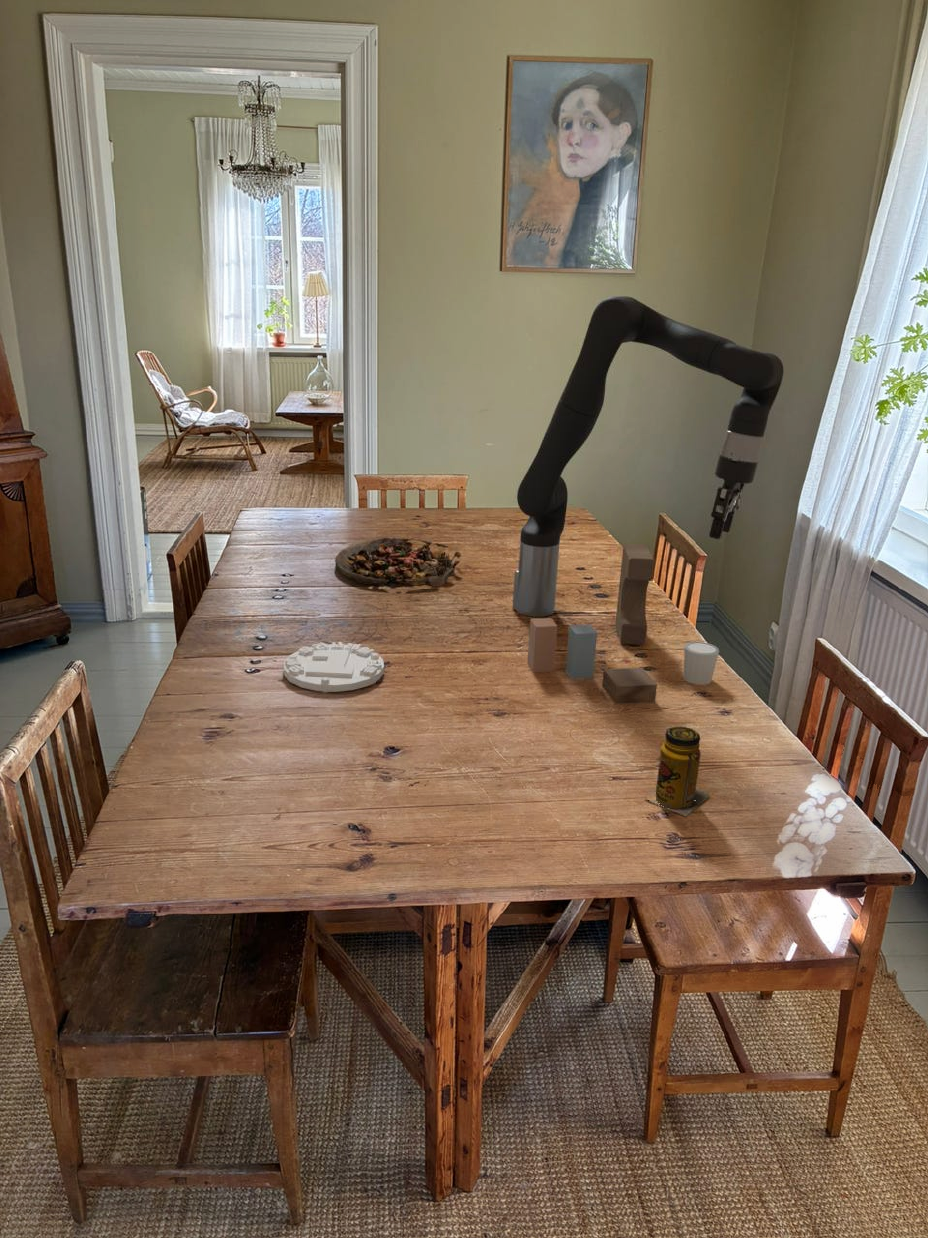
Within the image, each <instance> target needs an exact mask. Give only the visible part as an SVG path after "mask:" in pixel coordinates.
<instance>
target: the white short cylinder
mask: <svg viewBox="0 0 928 1238" xmlns="http://www.w3.org/2000/svg"><path fill="white" fill-rule="evenodd" d="M683 651H684V654H683V655H684V656H683V677H682V678H683V680H684V681H686V682H687V683H690V684H692V685H698V686H703V685H704V686H706V685H709V684H710V683H712V680H713V677H714V672H715V668H716V665H717V661H718V656H719V654H720V650H719V648H718V647H717V646H716V645H714V644H712V643H708V642H704V641H691V642H687V643H685V644H684V648H683Z"/></svg>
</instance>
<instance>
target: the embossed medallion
mask: <svg viewBox="0 0 928 1238" xmlns="http://www.w3.org/2000/svg"><path fill="white" fill-rule="evenodd" d="M283 672H284V673H283V675H284V676H285V678H286V679H287V681H289V682H290V683H291V684H294V685H295V686H298V687H299V688H303V689H306V690H310V691H311V690H312V691H316V692H323V693H325V694H327V693H330V692H332V693H333V692H335V693H337V692H346V691H354V690H358V689H361V688H366V687H369V686H371V685H374V684H376V683H377V682H378V681H379V680H380V679H381V678H382V676H383V675H384V673H385V664H384V659H383V658H382V657H381V655H380V653H378V652H375V649H373V648H371V649H370V647H367V646H363V647H362V644H360V643H350V642H347V644H344V643H343V642H342V641H338V643H337V644H336V642H331V644H328V643H324V642H319V643H314V644H311V646H310V647H309V646H302V647H300V648H299V649H298V650H297V651H296V652H293V653H292V654H289V655H288V657H287V658H286V659H285V660H284V664H283Z"/></svg>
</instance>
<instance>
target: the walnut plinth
mask: <svg viewBox="0 0 928 1238" xmlns="http://www.w3.org/2000/svg"><path fill="white" fill-rule="evenodd" d="M601 684H602V685H601V686H602V688H603V690H604V691H605V692H606V693H607V695H608V696H609V697H610V699H611V700H612V702H613V703H614V704H615V705H621V704H622V705H625V704H627V705H628V704H645V703H655V702H656V696H657V689H658V688H657V687H658V684H657V683H656V681H654V679H653V678H652V677H651V675H649V673H647V672H646V670H645V669H644V668H643V667H627V668H625V667H624V668H608V669H605V668H604V669H603V675H602V683H601Z"/></svg>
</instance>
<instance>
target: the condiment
mask: <svg viewBox="0 0 928 1238" xmlns="http://www.w3.org/2000/svg"><path fill="white" fill-rule="evenodd" d="M663 741H664V742H663V744H662V745H661V748H660V755H659V764H658V772H657V778H656V779H657V781H656V786H655V790H654V791H653V792H652V793H651V794H650V795H651V796H656V801H658V802H657V804H658V803H660V804H659V805H657V804H656V803H655V802H654V801H655V800H654V801H650V800H649V801H648V799H646V798H644V800H645V801H648V802H650V803H652V804H654V805H656V806H659V807H661V808H662V809H666V810H669V811H671V812H672V813H673V812H674V813H677V814H679V815H681V816H684V817H687V816H689V815H690V814H691V813H692V812H694V811H695V810H696V809H697V808H698V807H699V806H700V805H701V804H702V803H703V802H704V801H706V800H708V798H709V797H710V796H711V794H710V793H707V792H703V791H701V790H698V789H696V788H697V783H698V774H699V767H700V761H701V760H700V759H701V750H700V742H701V737H700V734H699V732H697V731H696V730H695V729H692V728H690V727H686V726H677V725H676V726H671V727H669V728H668V729H667V730H666V731H665V736H664V740H663ZM655 792H656V794H655ZM653 794H655V795H653ZM694 800H696V801H694ZM660 805H662V806H660ZM663 806H664V807H665V808H664V807H663ZM668 808H669V809H668Z"/></svg>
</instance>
